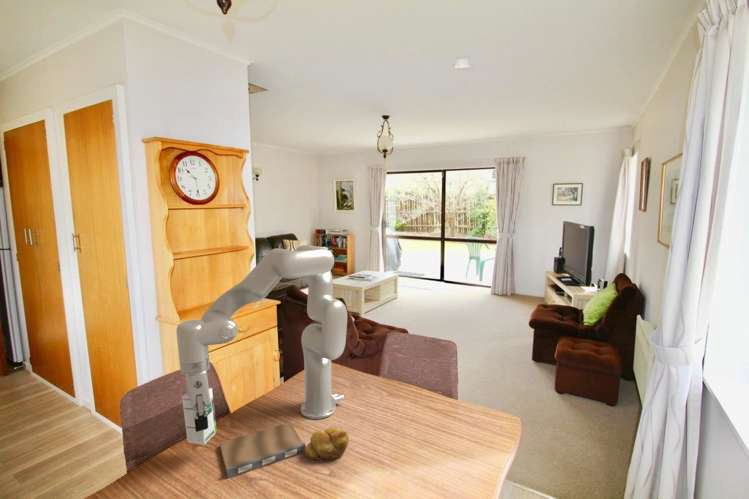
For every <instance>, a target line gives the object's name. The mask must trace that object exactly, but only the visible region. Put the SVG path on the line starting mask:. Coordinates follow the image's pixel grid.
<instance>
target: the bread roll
mask: <svg viewBox="0 0 749 499" xmlns="http://www.w3.org/2000/svg"><path fill="white" fill-rule="evenodd" d="M349 443H350V442H349V435H348V432H347V430H346V431H345V430H341V429H339V428H337V427H333V426H329V427H328V428H327V429H325V430H322V429H321V430H316V431H314V433H312V435H311V437H310V442H309V443H307V444H306V445H305V446H306V448H305V453H304V455H305V456H306V458H308V459H310V460H319V459H322V460H335V459H337V458H341V457H342V456H343V455H344V454H345V452H346V450H347V447H348V445H349Z"/></svg>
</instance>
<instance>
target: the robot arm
mask: <svg viewBox="0 0 749 499" xmlns="http://www.w3.org/2000/svg"><path fill="white" fill-rule="evenodd" d="M334 265H335V257H334V254H333V252H331V251H330V250H329V248H328V249H327V248H325V247H319V246H315V245H311V244H310V245H307V244H302V245H299V246H298V247H296V248H295V250H290V249H284V248H279V247H277V248H273V249H271V250H269V252H267V253H266V254H265V255H264V257H263V258H262V259H261V260H260V261H259V262H258V263H257V264H256V265H255V267H254V268H253V269H252V270H250V272H249V273H248V274H247V275H246V276H245V278H243V280H241V281H240V282H239V283H237V284H236V285H234V286H233V287H231V288H230V289H228V290H226V291H225V292H223V293H222V294H221V295H220V296H219V297H217V298H216V299H215V300H214V302H212V304H211V305H210V306H209V307H208V308H207V309H206V310H205V311H204V313H203V315H202V316H201V318H200V319H191V320H186V321H183V322H181V323H179V324H178V325H177V326H176V329H175V330H176V331H175V332H176V341H177V351H178V360H179V370H180V371H179V372H180V374H181V375H183V376H185V381H186V387H187V393H188V395H189V399H190V403H191V407H192V409H194V410H195V418H194V419H195V429H196V432H198V431H202V430H205V429H208V418H207V415H206V408H205V405H206V406H207V405H208V406H209V405H210V395H209V387H210V386H209V380H208V379H209V378H208V370H210V368H211V365H210V354H209V346H215V345H222V344H226V343H227V344H228V343H229V342H231V341H233V340H234V339H235V338H236V337H237V335H238V332H239V327H238V324H237V322H236V321H235V320H233V319H232V317H233V316H234V315H235V313H237V311H239V310H240V309H241V308H243V307H244V306H247V305H250V304H253V303H256V302H259V301H260V302H261V301H263V300H265V298H266V297H267V296H268V295H269V293H271V292H272V291H273V289H274V288H275V287H276V285H277V284H278V283H279V282H280V281H281V280H282V278H286V279H291V280H292V279H304V278H307V285H308V286H307V287H308V289H307V290H308V291H307V292H308V293H307V304H306V307H307V308H306V313H307V316H308V317H309V318H310V319H311V320H313V321H315V322H317V323H310V324H309V325H307V326H306V327H305V328H304V329H303V331H302V334H301V337H300V338H301V347H302V353H303V361H304V362H303V363H304V365H303V366H304V402H303V403H302V405H301V406H300V412H301V415H302V416H303V417H305V418H307V419H312V420H320V419H321V420H322V419H325V418H328V417H330V416H332V415H333V414H334V413H335V412H336V409H337V405H336V404H337V403H338V402H341V401H344V400H345V395H344V394H340V395H339V394H338V392H336V393H334V394H333V392H332V389H333V388H332V361H333V360H337V359H338V358H340V357H342V356H341V355H342V354H343V353H344V351H345V347H346V341H347V340H346V339H347V329H348V328H347V327H348V311H347V307H346V305H345V303H343V301H341V300H340V299H338V298H334V296H333V295H334V294H333V292H334V290H333V289H334V288H333V287H334V285H333V284H334V281H333V280H334V279H333V274H332V272H331V271H332V269H333V267H334ZM196 397H197V399H196ZM202 402H203V403H202ZM195 404H198V406H197V407H196V405H195ZM197 409H198V412H197Z"/></svg>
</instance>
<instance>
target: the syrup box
mask: <svg viewBox="0 0 749 499" xmlns="http://www.w3.org/2000/svg"><path fill="white" fill-rule="evenodd" d="M209 395H210V405H209V406H208V405H207V406H206V405H205V408H206V415H207V418H208V429H205V430H202V431H198V432H196V429H195V419H194V418H195V410H194V409H192V407H191V403H190V399H189V395H188V392H186V393H185V394H184V395H183V396H182V397H181V399H182V408H183V415H184V416H183V417H184V425H185V431H186V441H187V443H190V444H195V445H204V446H205V445H206V444H207V443H208V442H209V440H211V439H212V438H213V437H214V435H216V434H217V422H216V421H217V420H216V411H215V403H214V395H213V388H212V387H210V386H209ZM196 399H197V397H196ZM202 403H203V402H202ZM195 405H196V407H197V406H198V404H195ZM197 412H198V409H197Z"/></svg>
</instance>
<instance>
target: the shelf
mask: <svg viewBox="0 0 749 499" xmlns="http://www.w3.org/2000/svg"><path fill="white" fill-rule="evenodd" d="M306 446H307V445H306V444H305V442H304V443H303V441H302V439H301V438H300V436H299V434H298V433H297V431H296V429H295V428H294V426H293V425H292V423H291V422H290V421H289V422H286V423H283V424H279V425H277V426H276V425H275V426H273V427H270V428H269V427H268V428H266V429H262V430H258V431H255V432H252V433H249V434H246V435H245V434H244V435H242V436H238V437H235V438H231V439H228V440H224V441H221V442H219V449H220V454H221V456H222V459H223V460H222V462H223V464H224V468H225V472H226V475H227V479H230V478H233V477H236V476H239V475H242V474H246V473H247V472H251V471H252V472H253V471H254V470H257V469H260V468H264V467H267V466H269V465H272V464H275V463H277V462H280V461H284V460H286V459H289V458H294V457H296V456H299V455H302V454H305V448H306Z"/></svg>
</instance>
